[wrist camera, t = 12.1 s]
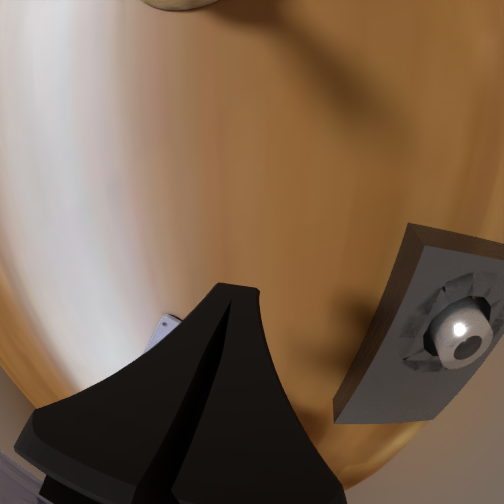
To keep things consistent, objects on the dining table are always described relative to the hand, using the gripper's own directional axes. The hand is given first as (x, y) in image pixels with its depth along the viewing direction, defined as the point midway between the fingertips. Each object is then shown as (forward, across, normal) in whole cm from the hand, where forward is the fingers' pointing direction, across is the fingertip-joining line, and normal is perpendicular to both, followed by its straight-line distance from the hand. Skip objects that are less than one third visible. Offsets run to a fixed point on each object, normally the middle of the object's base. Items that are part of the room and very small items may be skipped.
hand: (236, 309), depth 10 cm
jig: (+9, -15, +10) cm, 20 cm away
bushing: (+9, -15, +6) cm, 19 cm away
